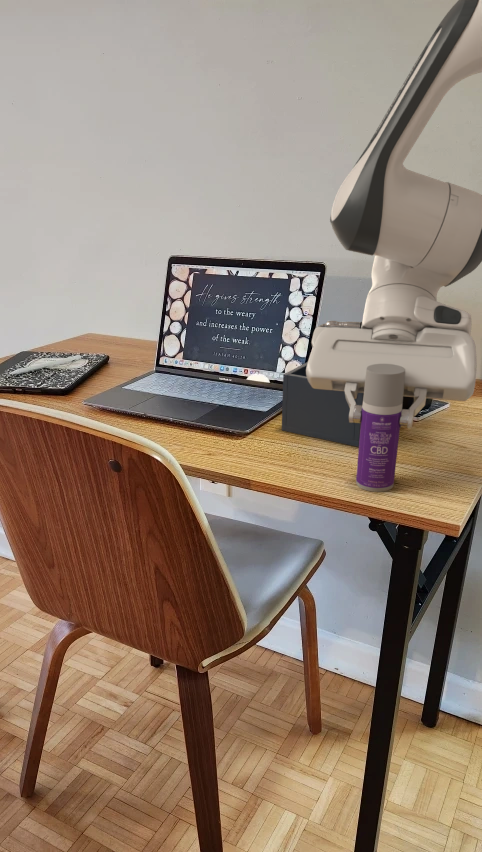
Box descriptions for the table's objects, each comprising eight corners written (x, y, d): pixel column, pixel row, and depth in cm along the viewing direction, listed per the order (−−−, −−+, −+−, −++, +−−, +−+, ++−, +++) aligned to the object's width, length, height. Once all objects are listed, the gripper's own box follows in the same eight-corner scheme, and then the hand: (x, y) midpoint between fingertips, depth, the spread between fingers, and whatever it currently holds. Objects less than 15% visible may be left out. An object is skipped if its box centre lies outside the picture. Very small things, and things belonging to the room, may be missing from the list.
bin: (391, 420, 107) (397, 365, 103) (358, 447, 98) (363, 387, 94) (318, 406, 114) (321, 354, 110) (281, 430, 105) (283, 374, 101)
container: (366, 494, 85) (377, 376, 78) (349, 479, 89) (358, 365, 82) (400, 488, 86) (414, 372, 79) (382, 474, 90) (393, 361, 83)
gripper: (313, 306, 87) (292, 404, 84) (485, 314, 81) (470, 420, 77) (318, 333, 93) (299, 426, 89) (479, 343, 87) (466, 443, 83)
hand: (380, 423), depth 83 cm, fingers closed on container, 4 cm apart
